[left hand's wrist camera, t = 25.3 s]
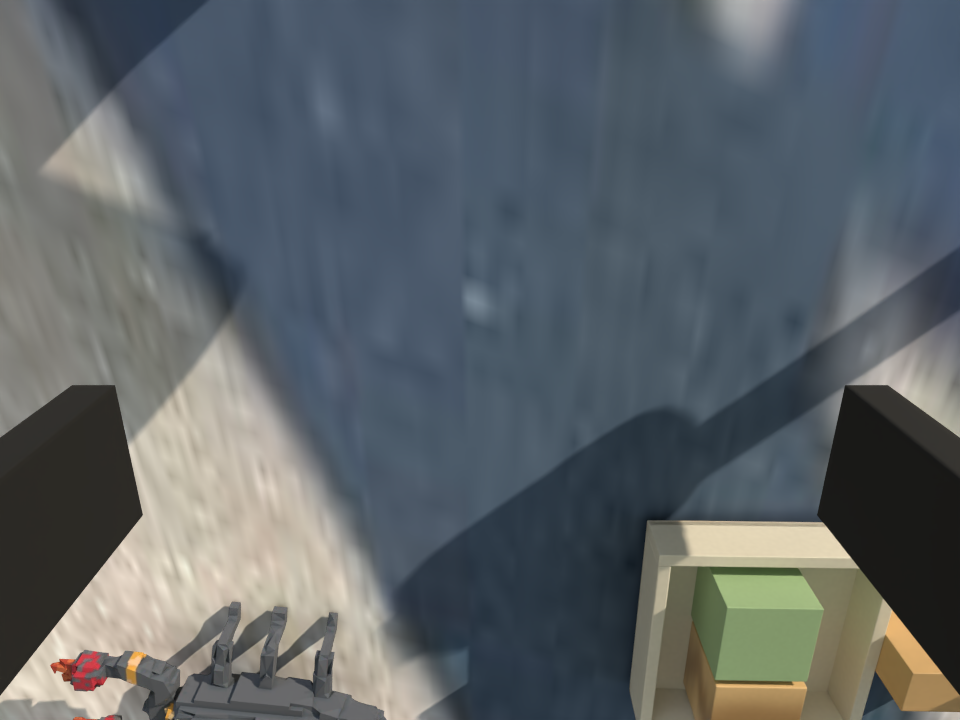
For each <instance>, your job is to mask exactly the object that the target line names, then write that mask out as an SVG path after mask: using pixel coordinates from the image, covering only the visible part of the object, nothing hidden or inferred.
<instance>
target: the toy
mask: <svg viewBox="0 0 960 720" xmlns="http://www.w3.org/2000/svg"><path fill="white" fill-rule="evenodd" d="M240 616H241V603H239V602H232V603H231V605H230V607H229V616H228V621H227V624H226V626H225V628H224V630H223V632H222V634H221V637H220V639H219V640H217V641H216V642H215V644H214V645H213V648H212V663H211V674H209V675H200V674H193V675H191V676H189V677H188V678H187V680H186V682H185V684H184V686H183V687H180V670H179V669H176V666H171V665H169V664H166V662H165V661H161V660H157V659H153V658H152V657H150V656H148V655H146V654H144V653H141V652H132V651H125V652H124V654H123V655H121V656H119V657H112V656H109V653H102V652H95V651H88V650H84V652H82V653H80V654H79V656H78V657H77V659H76V660H73V659H59V660H60V662H57V663H52V664H51V665H50V666H51V668H52V670H53V671H54V673H56V671H60V672H63V674H62V677H63V680H64V681H71V682H70V684H71V685H73V686H74V690H75V691H94V689H95V688H96V687H100V686H101V685H103V684H104V682H105V681H106V679H107V678H108V677H111V678H119V679H122V680H124V681H127V682H129V683H131V684H135V685H138V686H142V687H145V688H147V689H149V690H151V691H150V694H149V698H148V699H147V700H146V701H145V703H144V706H143V711H145V712H147V714H148V715H149V718H150V720H386V718H385V717H384V716H383V715H384V711H383V710H380V709H377V707H376V706H372V705H367V704H364V703H360V702H358V701H355V700H354V699H352V698H351V695H348V694H344V693H340V692H336V691H332V665H333V658H334V652H331V650H332V646H333V641H334V638H335V634H336V630H337V618H338V613H331V612H329V618H328V623H327V629H326V634H325V637H324V641H323V645H322V648H321V651H318V650H317V652H316V656H315V671H314V673H313V683H312V681H310V680H304V679H298V678H292V677H288V678H286V679H285V678H281V677H276V676H275V674H276V665H277V655H278V645H279V642H280V640H281V637H282V634H283V632H284V629H285V625H286V622H287V608H285V607H276V606H275V607H274V609H273V612H272V619H271V626H270V631H269V635H268V637H267V640H266V642H265V645H264V647H263V650H262V654H261V662H260V674H255V673H246V672H242V673H241V675H240V674H232V673H231V660H232V652H233V642H234V641H232V639H233V636H234V633H235V631H236V628H237V626H238V624H239V621H240ZM73 720H122V716H115V715H109V716H107V717H101V719H85V718H83V717H75V718H74V719H73Z"/></svg>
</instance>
